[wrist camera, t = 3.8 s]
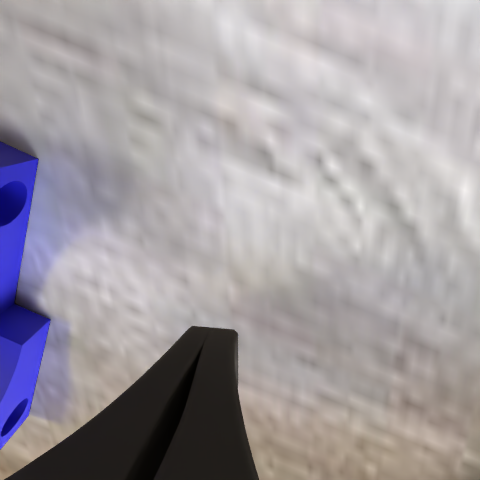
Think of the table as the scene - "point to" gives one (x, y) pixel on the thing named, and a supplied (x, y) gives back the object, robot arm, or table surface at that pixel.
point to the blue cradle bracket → (4, 291)
